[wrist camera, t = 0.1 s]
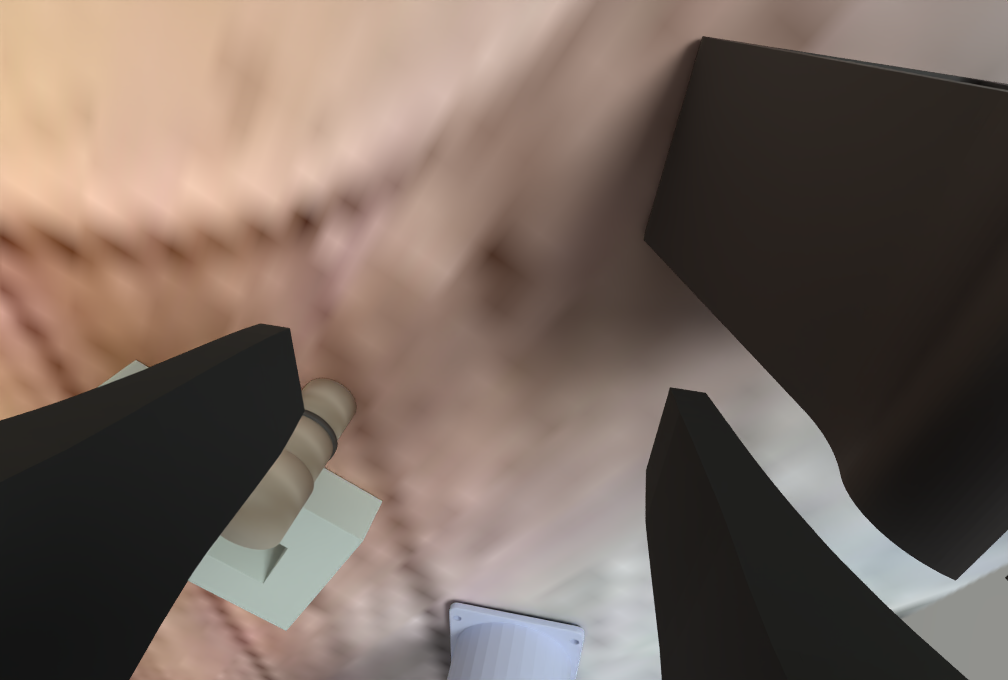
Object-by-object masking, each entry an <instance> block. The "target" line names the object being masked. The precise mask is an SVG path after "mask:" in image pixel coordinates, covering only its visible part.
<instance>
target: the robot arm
mask: <svg viewBox="0 0 1008 680" xmlns="http://www.w3.org/2000/svg"><path fill="white" fill-rule="evenodd" d="M304 411H305V408H304V403H303V397H302V392H301V387H300V381H299V376H298V370H297V365H296V360H295V354H294V349H293V343H292V338H291V332H290V328H285V327H279V326H273V325H266V324H258V325H255V326H252V327H248V328H245V329H243V330H240V331H237V332H235V333H232V334H229V335H227V336H224V337H222V338H219V339H217V340H214V341H212V342H210V343H207V344H205V345H202V346H200V347H197V348H195V349H193V350H190V351H188V352H185V353H183V354H181V355H178V356H176V357H173V358H171V359H169V360H166V361H164V362H161V363H159V364H156V365H154V366H152V367H149V368H147V369H144V370H142V371H139V372H137V373H134V374H131V375H129V376H126V377H124V378H121V379H118V380H116V381H113V382H111V383H108V384H105V385H103V386H100V387H97V388H95V389H92V390H90V391H87V392H84V393H82V394H79V395H77V396H74V397H71V398H68V399H65V400H63V401H60V402H57V403H54V404H51V405H48V406H45V407H42V408H39V409H36V410H33V411H30V412H27V413H23V414H20V415H17V416H14V417H11V418H7V419H4V420H1V421H0V680H129V679H130V678H131V676H132V674H133V672H134V671H135V669H136V667H137V665H138V664H139V662H140V660H141V659H142V657H143V655H144V653H145V652H146V650H147V648H148V646H149V645H150V643H151V641H152V639H153V638H154V636H155V634H156V632H157V631H158V629H159V627H160V625H161V624H162V622H163V621H164V619H165V617H166V616H167V614H168V612H169V611H170V609H171V608H172V606H173V604H174V603H175V601H176V599H177V598H178V596H179V595H180V593H181V591H182V590H183V588H184V586H185V585H186V583H187V581H188V580H189V578H190V577H191V575H192V573H193V572H194V571H195V569H196V568H197V566H198V565H199V563H200V562H201V561H202V559H203V558H204V556H205V555H206V553H207V552H208V550H209V549H210V548H211V547H212V545H213V544H214V543H215V541H216V540H217V539H218V537H219V536H220V535H221V533H222V532H223V531H224V529H225V528H226V527H227V525H228V524H229V523H230V521H231V520H232V519H233V517H234V516H235V515H236V513H237V512H238V511H239V510H240V508H241V507H242V506H243V504H244V503H245V502H246V500H247V499H248V498H249V496H250V495H251V494H252V492H253V491H254V490H255V488H256V487H257V486H258V484H259V483H260V482H261V480H262V479H263V478H264V476H265V475H266V474H267V472H268V471H269V470H270V468H271V467H272V465H273V464H274V463H275V461H276V460H277V459H278V457H279V456H280V454H281V453H282V451H283V449H284V448H285V446H286V444H287V443H288V441H289V439H290V437H291V436H292V434H293V432H294V430H295V428H296V426H297V424H298V422H299V421H300V419H301V417H302V415H303V413H304ZM646 531H647V541H648V550H649V559H650V568H651V577H652V586H653V594H654V603H655V612H656V621H657V630H658V638H659V647H660V660H661V674H662V680H968V679H967V678H965V676H963V675H962V674H961V673H960V672H959V671H958V670H957V669H956V668H954V667H953V666H952V665H951V664H950V663H949V662H948V661H946V660H945V659H944V658H943V657H942V656H941V655H940V654H939V653H938V652H937V651H935V650H934V649H933V648H932V647H931V646H930V645H929V644H928V643H926V642H925V641H924V640H923V639H922V638H921V637H920V636H919V635H917V634H916V633H915V632H914V631H913V630H912V629H911V628H910V627H909V626H908V625H907V624H906V623H904V622H903V621H902V620H901V619H900V618H899V617H898V616H897V615H896V614H895V613H894V612H893V611H892V610H891V609H889V608H888V607H887V606H886V605H885V604H884V603H883V602H882V601H881V600H880V599H879V598H878V597H877V596H876V595H875V594H874V593H873V592H872V591H871V590H870V589H869V588H868V587H867V586H866V585H865V584H864V583H863V582H862V581H861V580H860V579H859V578H858V577H857V576H856V575H855V574H854V573H853V572H852V571H851V570H850V569H849V568H848V567H847V566H846V565H845V564H844V563H843V562H842V561H841V560H840V559H839V558H838V556H837V555H836V554H835V553H834V552H833V551H832V550H831V549H830V548H829V547H828V546H827V545H826V544H825V543H824V542H823V540H822V539H821V538H820V537H819V536H818V535H817V534H816V533H815V531H814V530H813V529H812V528H811V527H810V526H809V525H808V523H807V522H806V521H805V520H804V519H803V518H802V517H801V515H800V514H799V513H798V512H797V511H796V510H795V509H794V508H793V506H792V505H791V504H790V503H789V502H788V500H787V499H786V498H785V497H784V496H783V494H782V493H781V492H780V491H779V490H778V488H777V487H776V486H775V485H774V483H773V482H772V481H771V480H770V478H769V477H768V476H767V475H766V473H765V472H764V471H763V470H762V468H761V467H760V466H759V464H758V463H757V462H756V461H755V459H754V458H753V457H752V455H751V454H750V453H749V451H748V450H747V449H746V447H745V446H744V445H743V443H742V442H741V441H740V439H739V438H738V436H737V435H736V434H735V432H734V431H733V430H732V428H731V427H730V425H729V424H728V423H727V421H726V420H725V419H724V417H723V416H722V414H721V413H720V412H719V410H718V409H717V408H716V406H715V405H714V403H713V402H712V401H711V399H710V398H709V397H708V395H707V394H706V393H703V392H697V391H690V390H684V389H677V388H671V387H670V389H669V393H668V396H667V400H666V403H665V407H664V410H663V414H662V417H661V421H660V424H659V427H658V431H657V434H656V438H655V441H654V445H653V448H652V452H651V455H650V459H649V462H648V465H647V469H646ZM449 618H450V643H451V666H450V670H449V674H448V677H447V680H576V675H577V670H578V665H579V661H580V656H581V651H582V646H583V642H584V630H583V629H582V628H580V627H578V626H574V625H569V624H564V623H559V622H553V621H548V620H543V619H538V618H533V617H528V616H523V615H518V614H513V613H508V612H503V611H498V610H493V609H488V608H483V607H478V606H473V605H468V604H463V603H453V604H451V606H450V610H449Z"/></svg>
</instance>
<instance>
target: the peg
mask: <svg viewBox="0 0 1008 680" xmlns="http://www.w3.org/2000/svg"><path fill="white" fill-rule="evenodd" d="M301 392H302V397H303V403H304V408H305V411H304V413H303V415H302V417H301V419H300V421H299V422H298V424H297V426H296V428H295V430H294V432H293V434H292V436H291V437H290V439H289V441H288V443H287V444H286V446H285V448H284V449H283V451H282V453H281V454H280V456H279V457H278V459H277V460H276V461H275V463H274V464H273V465H272V467H271V468H270V470H269V471H268V472H267V474H266V475H265V476H264V478H263V479H262V480H261V482H260V483H259V484H258V486H257V487H256V488H255V490H254V491H253V492H252V494H251V495H250V496H249V498H248V499H247V500H246V502H245V503H244V504H243V506H242V507H241V508H240V510H239V511H238V512H237V513H236V515H235V516H234V517H233V519H232V520H231V521H230V523H229V524H228V525H227V527H226V528H225V529H224V531H223V532H222V533H221V535H220V536H222V537H223V538H225V539H227V540H228V541H230V542H232V543H234V544H237V545H239V546H242V547H245V548H250V549H256V550H266V549H271V548H273V547H275V546H277V545H278V544H279V543H280V542H281V540H282V539H283V537H284V536H285V534H286V533H287V531H288V529H289V528H290V526H291V525H292V523H293V522H294V520H295V519H296V517H297V515H298V514H299V512H300V511H301V509H302V508H303V506H304V505H305V503H306V501H307V500H308V498H309V497H310V495H311V494H312V492H313V488H314V482H315V480H316V479H317V477H318V476H319V474H320V473H321V471H322V470H323V468H324V467H325V465H326V464H327V462H328V461H329V460H330V459H331V458H332V456H333V455H334V453H335V452H336V450H337V445H338V442H337V440H338V439H339V437H340V436H341V434H342V433H343V431H344V430H345V428H346V427H347V425H348V424H349V422H350V421H351V419H352V418H353V416H354V415H355V412H356V402H355V399H354V397H353V395H352V394H351V393H350V391H349V390H348V389H347V388H346V387H344V386H343V385H342V384H340V383H338V382H336V381H334V380H331V379H326V378H318V379H314V380H312V381H310V382H309V383H308V384H307V385H306V386H305V387H304V388H303V390H302V391H301Z"/></svg>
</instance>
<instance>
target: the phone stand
mask: <svg viewBox="0 0 1008 680" xmlns="http://www.w3.org/2000/svg"><path fill="white" fill-rule="evenodd" d="M643 239H644V241H645V242H646V243H647V244H648V245H649V246H650V247H651V248H652V249H653V250H654V251H655V252H656V253H657V254H658V255H659V257H660V258H661V259H662V260H663V261H664V262H665V263H666V264H667V265H668V266H669V267H670V268H671V269H672V270H673V271H674V273H675V274H676V275H677V276H678V277H679V278H680V279H681V280H682V281H683V282H684V283H685V284H686V285H687V286H688V287H689V288H690V290H691V291H692V292H693V293H694V294H695V295H696V296H697V297H698V298H699V299H700V300H701V301H702V302H703V303H704V304H705V306H706V307H707V308H708V309H709V310H710V311H711V312H712V313H713V314H714V315H715V316H716V317H717V318H718V319H719V320H720V321H721V323H722V324H723V325H724V326H725V327H726V328H727V329H728V330H729V331H730V332H731V333H732V334H733V335H734V336H735V337H736V339H737V340H738V341H739V342H740V343H741V344H742V345H743V346H744V347H745V348H746V349H747V350H748V351H749V352H750V353H751V354H752V356H753V357H754V358H755V359H756V360H757V361H758V362H759V363H760V364H761V365H762V366H763V367H764V368H765V369H766V370H767V372H768V373H769V374H770V375H771V376H772V377H773V378H774V379H775V380H776V381H777V382H778V383H779V384H780V385H781V386H782V387H783V389H784V390H785V391H786V392H787V393H788V394H789V395H790V396H791V397H792V398H793V399H794V400H795V401H796V402H797V403H798V405H799V406H800V407H801V408H802V409H803V410H804V411H805V412H806V413H807V414H808V415H809V416H810V418H811V419H812V420H813V421H814V422H815V424H816V425H817V426H818V428H819V429H820V430H821V432H822V433H823V435H824V436H825V438H826V440H827V441H828V443H829V445H830V447H831V449H832V451H833V453H834V455H835V458H836V460H837V463H838V466H839V470H840V475H841V479H842V482H843V484H844V487H845V489H846V491H847V492H848V494H849V496H850V497H851V499H852V501H853V502H854V503H855V505H856V506H857V507H858V509H859V510H860V511H861V512H862V513H863V515H864V516H865V517H866V518H867V519H868V520H869V521H870V522H871V523H872V524H873V525H874V526H875V527H876V528H877V529H878V530H879V531H880V532H881V533H882V534H884V535H885V536H886V537H887V538H888V539H889V540H891V541H892V542H893V543H894V544H896V545H897V546H898V547H900V548H901V549H902V550H904V551H905V552H907V553H908V554H909V555H911V556H912V557H914V558H915V559H917V560H918V561H920V562H922V563H923V564H925V565H927V566H928V567H930V568H932V569H934V570H936V571H937V572H939V573H941V574H943V575H945V576H947V577H949V578H951V579H954V580H957V579H958V578H959V577H960V576H961V575H962V574H963V573H964V572H965V571H966V570H967V569H968V568H969V567H970V566H971V565H972V564H973V563H974V562H975V561H976V560H977V559H978V558H979V557H980V556H981V555H982V554H983V553H985V552H986V551H987V550H988V549H989V548H990V547H991V546H992V545H993V544H994V543H995V542H996V541H997V540H998V539H999V538H1000V537H1001V536H1002V535H1003V534H1004V533H1005V532H1006V531H1007V530H1008V84H1004V83H998V82H991V81H985V80H978V79H972V78H966V77H959V76H953V75H947V74H940V73H934V72H928V71H921V70H915V69H908V68H902V67H896V66H889V65H883V64H877V63H870V62H863V61H857V60H851V59H845V58H838V57H832V56H826V55H819V54H813V53H807V52H800V51H794V50H787V49H781V48H775V47H768V46H762V45H756V44H749V43H743V42H736V41H730V40H724V39H717V38H711V37H704V36H703V37H702V40H701V44H700V47H699V50H698V54H697V57H696V61H695V64H694V68H693V71H692V74H691V78H690V81H689V85H688V88H687V91H686V95H685V98H684V102H683V105H682V109H681V112H680V115H679V119H678V122H677V126H676V129H675V132H674V136H673V139H672V143H671V146H670V150H669V153H668V156H667V160H666V163H665V167H664V170H663V173H662V177H661V180H660V184H659V187H658V191H657V194H656V197H655V201H654V204H653V208H652V211H651V214H650V218H649V221H648V225H647V228H646V232H645V235H644V238H643ZM1005 578H1006V579H1007V580H1008V576H1007V577H1005Z"/></svg>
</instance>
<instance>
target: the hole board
mask: <svg viewBox="0 0 1008 680" xmlns="http://www.w3.org/2000/svg"><path fill="white" fill-rule="evenodd" d="M147 368H149V367H147V366H145V365H144V364H142V363H140V362H138V361H137V360H135V361H133V362H132V363H131V364H129V365H128V366H126V367H125V368H124V369H122V370H121V371H119V372H118V373H117V374H115V375H114V376H112V377H111V378H110V379H108V380H107V381H105V382H104V383H103V384H101V385H100V386H103V385H105V384H108V383H111V382H113V381H116V380H118V379H121V378H124V377H126V376H129V375H131V374H134V373H137V372H139V371H142V370H144V369H147ZM100 386H98V387H100ZM381 503H382V501H381V500H379V499H378V498H376V497H374V496H372V495H371V494H369V493H367V492H365V491H364V490H362V489H360V488H358V487H357V486H355V485H353V484H351V483H350V482H348V481H346V480H345V479H343V478H341V477H339V476H338V475H336V474H334V473H332V472H331V471H329V470H327V469H325V468H323V470H322V471H321V473H320V474H319V476H318V477H317V479H316V480H315V482H314V488H313V492H312V494H311V495H310V497H309V498H308V500H307V501H306V503H305V505H304V506H303V508H302V509H301V511H300V512H299V514H298V515H297V517H296V519H295V520H294V522H293V523H292V525H291V526H290V528H289V529H288V531H287V533H286V534H285V536H284V537H283V539H282V540H281V542H280V543H279V544H278V545H277V546H275V547H273V548H271V549H266V550H256V549H250V548H245V547H242V546H239V545H237V544H234V543H232V542H230V541H228V540H227V539H225V538H223V537H222V536H219V537H218V539H217V540H216V541H215V543H214V544H213V545H212V547H211V548H210V549H209V550H208V552H207V553H206V555H205V556H204V558H203V559H202V561H201V562H200V563H199V565H198V566H197V568H196V569H195V571H194V572H193V573H192V575H191V577H190V578H189V580H188V581H190V582H192V583H194V584H196V585H198V586H199V587H201V588H203V589H205V590H207V591H209V592H211V593H213V594H215V595H217V596H219V597H221V598H223V599H225V600H227V601H229V602H231V603H233V604H235V605H237V606H239V607H241V608H243V609H245V610H246V611H248V612H250V613H252V614H254V615H256V616H258V617H260V618H262V619H264V620H266V621H268V622H270V623H272V624H274V625H276V626H278V627H280V628H282V629H284V630H286V631H287V629H288V628H289V627H290V626H291V625H292V624H293V622H294V621H295V620H296V619H297V618H298V616H299V615H300V614H301V613H302V612H303V611H304V609H305V608H306V607H307V606H308V605H309V604H310V602H311V601H312V600H313V599H314V598H315V597H316V595H317V594H318V593H319V592H320V591H321V590H322V588H323V587H324V586H325V585H326V584H327V582H328V581H329V580H330V579H331V578H332V577H333V575H334V574H335V573H336V572H337V571H338V570H339V568H340V567H341V566H342V565H343V564H344V563H345V561H346V560H347V559H348V558H349V557H350V556H351V554H352V553H353V552H354V551H355V550H356V549H357V547H358V546H359V545H360V544H361V543H362V541H363V540H364V538H365V536H366V534H367V532H368V530H369V528H370V526H371V524H372V521H373V519H374V517H375V515H376V513H377V511H378V509H379V507H380V505H381Z"/></svg>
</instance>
